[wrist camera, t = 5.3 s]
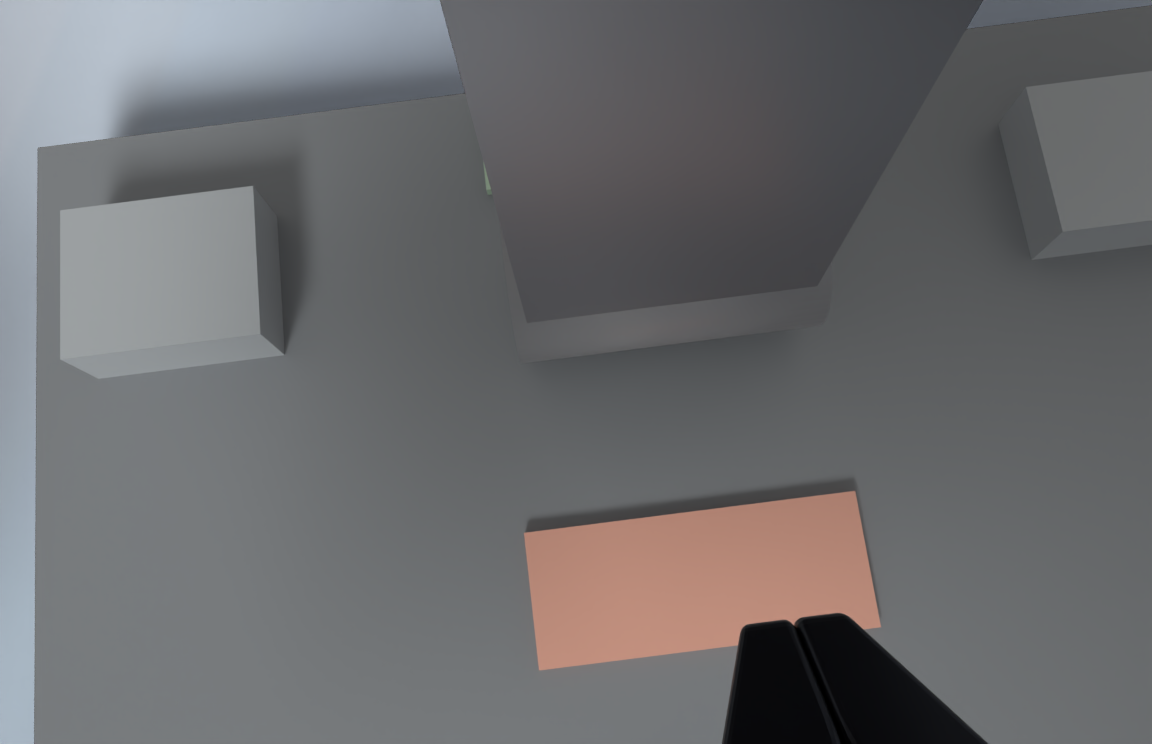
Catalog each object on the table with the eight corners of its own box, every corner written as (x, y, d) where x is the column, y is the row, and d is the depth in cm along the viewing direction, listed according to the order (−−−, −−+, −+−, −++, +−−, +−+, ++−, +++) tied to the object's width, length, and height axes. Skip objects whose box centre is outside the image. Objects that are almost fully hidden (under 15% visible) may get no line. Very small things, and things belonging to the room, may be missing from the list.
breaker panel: (1384, 865, 16) (1566, 918, 13) (100, 1027, 16) (-19, 1118, 13) (1151, 61, 20) (1250, -47, 17) (93, 195, 20) (-3, 113, 17)
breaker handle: (809, 344, 16) (1336, -443, 4) (526, 381, 16) (298, -312, 4) (782, 201, 17) (1183, -830, 5) (509, 236, 17) (270, -713, 5)
